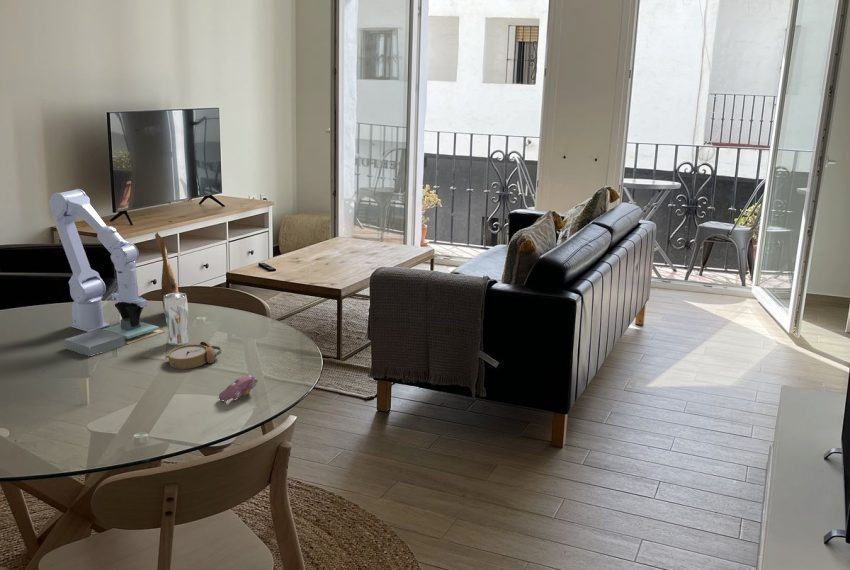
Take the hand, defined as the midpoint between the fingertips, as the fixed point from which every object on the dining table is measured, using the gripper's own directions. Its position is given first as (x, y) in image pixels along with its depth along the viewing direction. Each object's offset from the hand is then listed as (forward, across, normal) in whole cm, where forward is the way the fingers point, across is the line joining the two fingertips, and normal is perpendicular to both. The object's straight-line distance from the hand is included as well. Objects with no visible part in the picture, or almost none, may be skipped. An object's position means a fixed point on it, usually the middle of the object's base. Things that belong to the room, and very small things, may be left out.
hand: (131, 325), depth 259 cm
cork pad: (+3, 0, 0) cm, 3 cm away
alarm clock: (+3, +34, -5) cm, 35 cm away
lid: (+2, 0, 0) cm, 2 cm away
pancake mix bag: (+3, -4, +19) cm, 20 cm away
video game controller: (+3, +63, -16) cm, 65 cm away
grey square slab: (+3, +1, -14) cm, 14 cm away
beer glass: (+3, +18, +3) cm, 19 cm away
